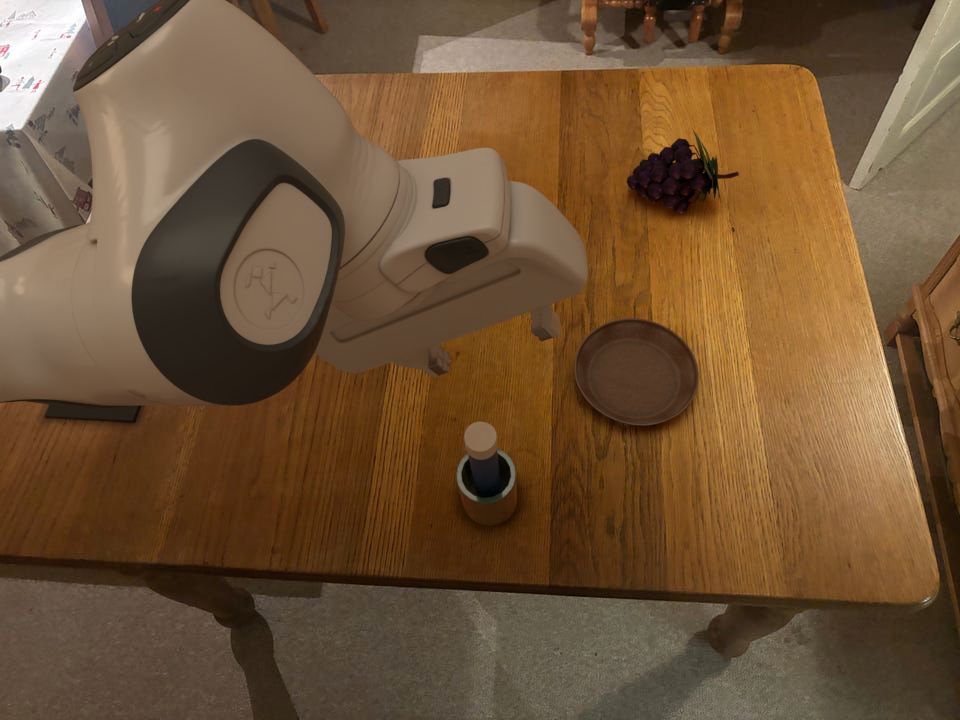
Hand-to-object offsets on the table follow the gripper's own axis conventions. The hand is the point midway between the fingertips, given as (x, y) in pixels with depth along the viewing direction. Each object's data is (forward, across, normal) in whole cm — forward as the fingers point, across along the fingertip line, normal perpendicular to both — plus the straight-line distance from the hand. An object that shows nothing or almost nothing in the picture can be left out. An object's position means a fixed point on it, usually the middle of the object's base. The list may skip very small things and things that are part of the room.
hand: (495, 349), depth 49 cm
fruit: (+39, +7, +45) cm, 59 cm away
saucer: (+35, -1, +15) cm, 38 cm away
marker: (+26, -17, 0) cm, 30 cm away
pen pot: (+26, -17, 0) cm, 31 cm away
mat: (+1, -60, +21) cm, 64 cm away
